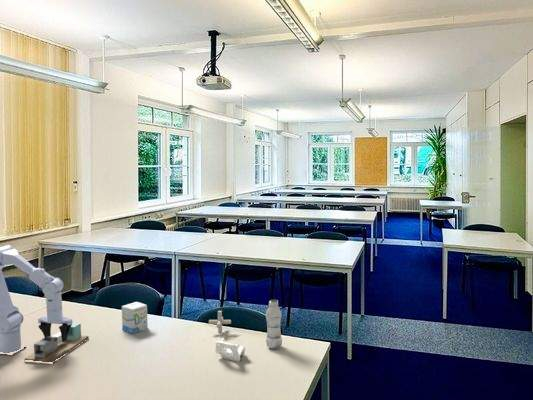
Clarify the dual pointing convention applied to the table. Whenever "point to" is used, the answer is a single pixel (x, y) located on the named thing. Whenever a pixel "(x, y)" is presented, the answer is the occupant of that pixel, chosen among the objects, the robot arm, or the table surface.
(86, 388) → the table surface
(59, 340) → the grey rectangular bar
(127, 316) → the ink box
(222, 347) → the mounting bracket
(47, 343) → the grey sleeve
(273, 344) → the plastic bottle
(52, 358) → the walnut board
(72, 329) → the teal socket block
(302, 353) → the table surface
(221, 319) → the pipe connector
